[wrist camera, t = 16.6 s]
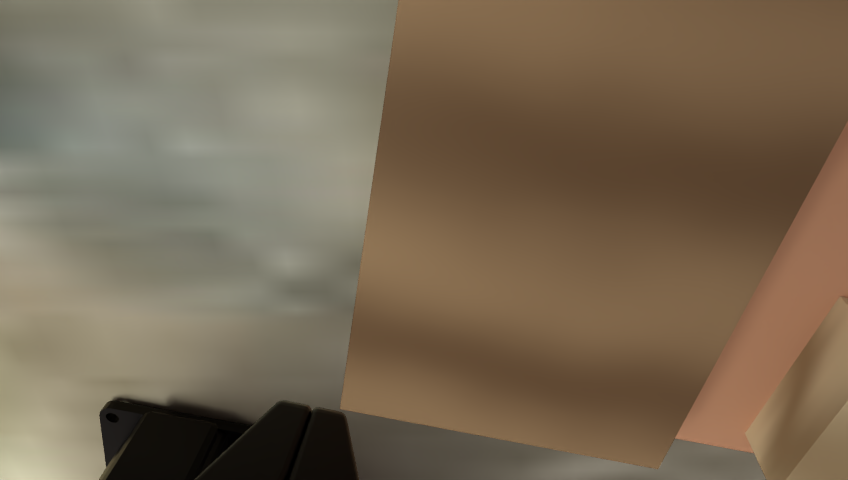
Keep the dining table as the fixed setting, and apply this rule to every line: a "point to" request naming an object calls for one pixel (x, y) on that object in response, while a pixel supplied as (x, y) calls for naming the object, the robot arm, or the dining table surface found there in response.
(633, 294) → the walnut board
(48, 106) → the dining table surface
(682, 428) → the terracotta mat
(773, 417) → the maple tile
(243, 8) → the dining table surface
